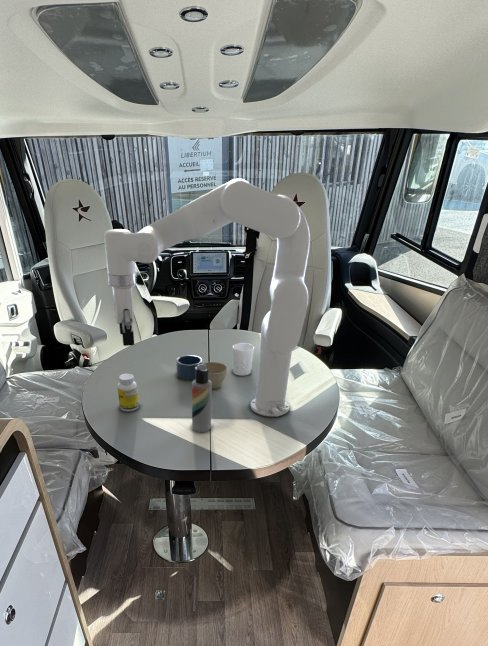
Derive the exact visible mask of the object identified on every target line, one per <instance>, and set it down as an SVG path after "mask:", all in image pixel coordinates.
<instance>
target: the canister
mask: <svg viewBox="0 0 488 646" xmlns="http://www.w3.org/2000/svg"><path fill="white" fill-rule="evenodd" d="M200 364H203V359H202V358H201V357H200V356H199V355H193V354H186V355H182V356H181V355H180V356H179V357H177V358H176V363H175V365H176V377H177V379H180V380H183V381H194V380H195V368H196V367H197V365H200Z"/></svg>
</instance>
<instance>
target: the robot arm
mask: <svg viewBox="0 0 488 646" xmlns="http://www.w3.org/2000/svg"><path fill="white" fill-rule="evenodd" d="M307 221H308V220H307V218H306V216H305V214H304V212H303V210H302V209H301V208H300V206H299V205H298V204H297V203H296V202H295V201H294V200H293V199H292V198H290V197H289V196H287V195H286V194H285V195H284V194H276V193H273V192H270V191H268V190H265V189H262V188H260V187H258V186H255V185H253V184H251V183H250V182H249V181H248V180H245V179H243V178H234V179H231V180H229V181H227V182H225V183H223V184H222V185H219V186H218V187H215V188H214V189H213V190H210V191H209V192H207V193H205V194H203V195H201V196H199V197H198V198H196V199H193V200H191V201H190V202H187V203H186V204H184V205H182V206H181V207H180V208H178V209H176V210H175V211H173V212H171V213H169V214H167V215H165V216H163V217H161V218H159V219H158V220H155V221H153V222H152V223H150V224H148V225H146V226H144V227H143V228H141V229H140V230H139V231H137V232H131V231H130V230H128V229H125V228H124V229H121V228H114V229H108V230H106V231H105V233H104V237H103V238H104V247H105V259H106V269H107V277H108V286H109V287H110V288H112V297H113V309H114V317H115V322H116V323H117V325H119V334H120V335H122V345H123V346H124V347H127V346H134V345H135V336H134V335H135V334H134V329H133V323H134V322H135V313H134V309H135V308H134V295H133V294H134V293H133V288H134V287H136V286H137V277H136V266H135V265H136V263H135V262H138V263H142V264H151V263H153V262H155V261H156V260H157V259H158V258H159V256H160V254H161V253H162V252H165V251H166V250H168V249H170V248H172V247H173V246H175V245H178V244H180V243H182V242H184V241H188V240H197V239H201V238H203V237H205V236H208V235H209V234H212V233H214V232H215V231H217V230H219V229H221V228H223V227H225V226H227V225H229V224H231V223H233V222H234V223H236V224H239V225H241V226H243V227H246V228H248V229H250V230H253V231H256V232H259V233H262V234H265V235H267V236H270V237H272V238H275V239H276V253H275V261H274V267H273V272H272V276H271V282H270V286H269V297H270V300H271V304H270V310H269V311H268V312H267V313H266V314H265V315H264V317H263V319H262V321H261V327H260V349H259V360H258V369H257V370H258V371H257V381H256V393H255V397H254V398H253V399H252V400H251V401H250V409H251V410H252V412H254V413H256V414H258V415H260V416H263V417H269V418H270V417H273V418H274V417H275V418H276V417H281V416H284V415H285V414H287V413H288V412H289V410H290V404H289V402H288V401H287V400H286V397H287V390H288V382H289V376H290V375H289V374H290V369H291V361H292V352H293V350H295V348H296V347H297V346H298V344H299V342H300V339H301V335H302V332H303V328H304V327H303V326H304V323H305V320H306V319H305V318H306V315H307V309H308V305H309V290H308V287H307V285H306V283H305V275H306V271H307V266H308V259H309V253H310V248H311V247H310V245H311V234H310V227H309V224H308V222H307Z"/></svg>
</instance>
